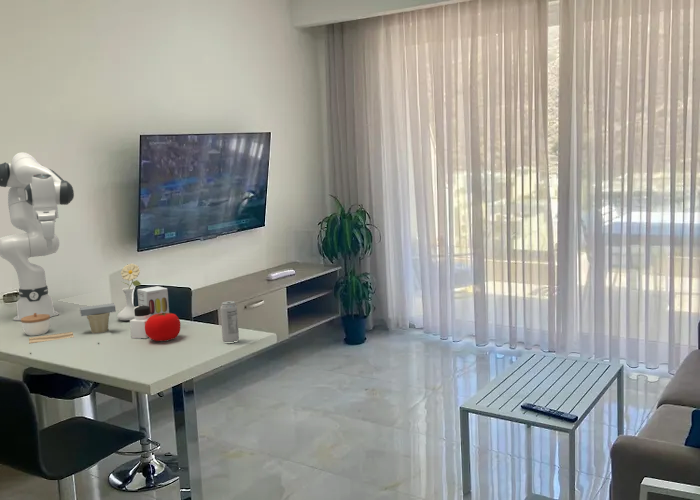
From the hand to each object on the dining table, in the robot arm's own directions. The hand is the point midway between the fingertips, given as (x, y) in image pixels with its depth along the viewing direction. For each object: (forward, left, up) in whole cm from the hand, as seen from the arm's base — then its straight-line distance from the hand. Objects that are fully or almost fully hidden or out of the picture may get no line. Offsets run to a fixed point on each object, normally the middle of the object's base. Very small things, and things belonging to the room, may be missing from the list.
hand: (49, 248), depth 270 cm
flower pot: (+12, +15, -35) cm, 40 cm away
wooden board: (+11, -3, -35) cm, 37 cm away
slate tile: (+12, +15, -26) cm, 33 cm away
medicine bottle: (+28, +30, -35) cm, 54 cm away
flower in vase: (-6, +30, -35) cm, 47 cm away
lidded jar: (0, -8, -35) cm, 36 cm away
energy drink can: (+57, +57, -35) cm, 88 cm away
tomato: (+38, +36, -35) cm, 63 cm away
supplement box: (+18, +36, -35) cm, 54 cm away
